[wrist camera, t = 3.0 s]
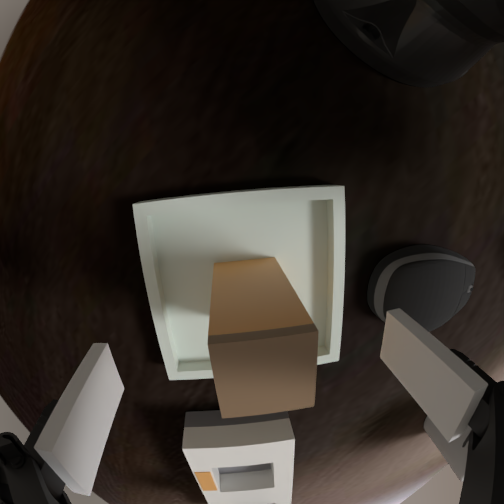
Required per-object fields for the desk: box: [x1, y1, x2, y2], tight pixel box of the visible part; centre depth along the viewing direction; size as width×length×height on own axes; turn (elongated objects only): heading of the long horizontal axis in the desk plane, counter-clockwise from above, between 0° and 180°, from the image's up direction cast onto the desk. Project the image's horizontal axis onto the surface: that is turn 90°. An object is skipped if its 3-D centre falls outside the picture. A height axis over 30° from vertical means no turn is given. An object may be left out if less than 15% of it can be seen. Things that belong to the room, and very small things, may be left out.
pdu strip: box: [182, 410, 295, 504], centre depth 24 cm, size 22×9×5 cm, turn 4°
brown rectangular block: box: [207, 257, 319, 418], centre depth 15 cm, size 4×4×10 cm
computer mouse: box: [367, 245, 475, 332], centre depth 20 cm, size 7×12×4 cm, turn 87°
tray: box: [132, 185, 345, 380], centre depth 20 cm, size 13×13×2 cm
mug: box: [424, 416, 472, 481], centre depth 23 cm, size 12×8×11 cm
